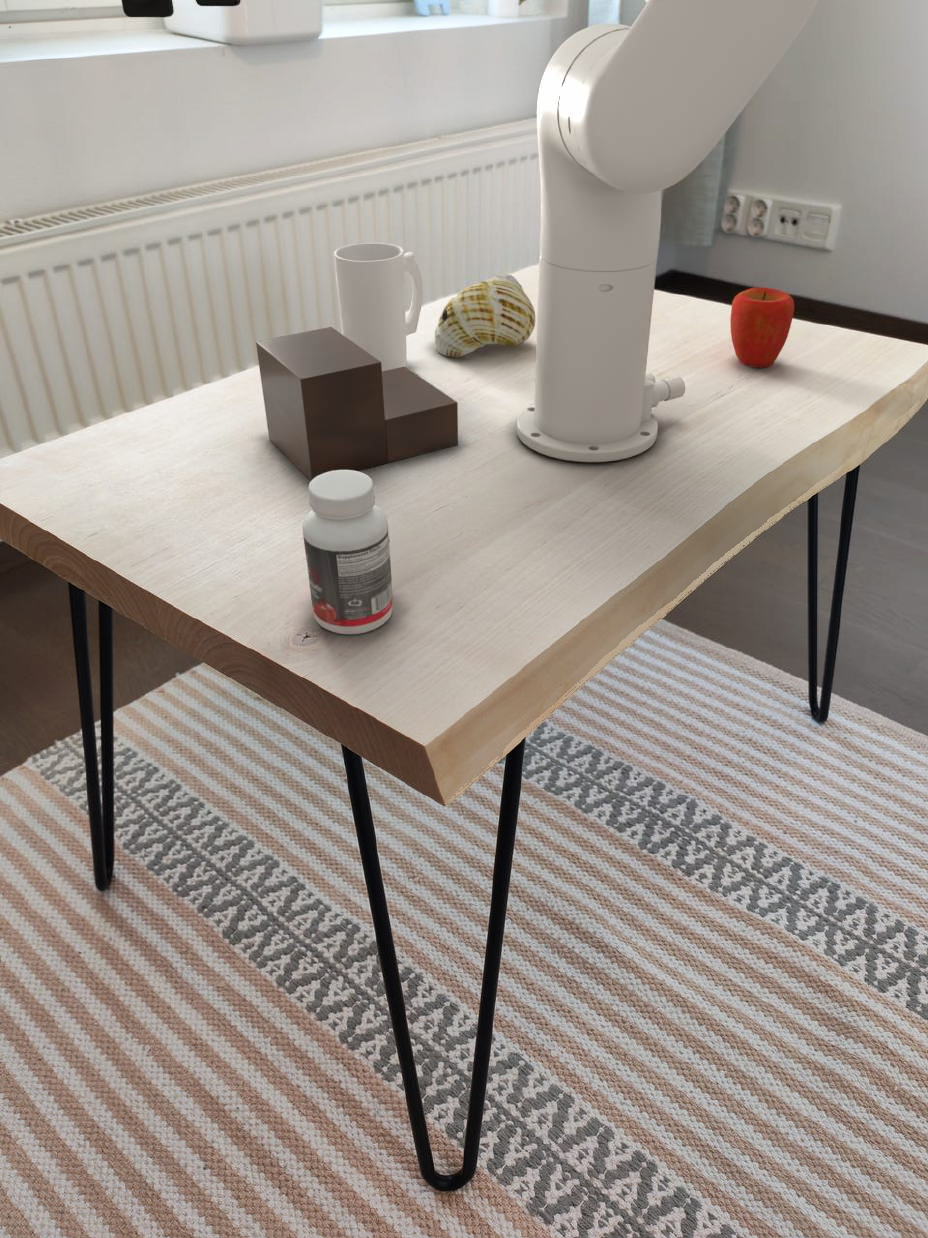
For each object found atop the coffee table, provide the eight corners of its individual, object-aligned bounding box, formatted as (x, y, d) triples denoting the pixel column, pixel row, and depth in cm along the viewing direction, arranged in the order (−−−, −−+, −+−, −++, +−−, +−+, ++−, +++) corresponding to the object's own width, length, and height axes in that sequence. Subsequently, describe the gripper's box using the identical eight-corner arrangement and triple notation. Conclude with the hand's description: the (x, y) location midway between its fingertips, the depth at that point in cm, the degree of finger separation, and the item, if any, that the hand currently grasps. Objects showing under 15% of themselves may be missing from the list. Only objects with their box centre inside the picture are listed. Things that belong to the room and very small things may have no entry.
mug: (372, 389, 97) (363, 265, 90) (330, 371, 101) (319, 251, 94) (445, 362, 103) (443, 244, 96) (403, 347, 107) (398, 232, 100)
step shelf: (406, 406, 94) (402, 312, 89) (458, 444, 87) (457, 345, 82) (269, 438, 88) (255, 341, 83) (312, 482, 81) (300, 379, 76)
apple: (716, 352, 104) (726, 281, 100) (773, 351, 105) (786, 280, 100) (732, 374, 99) (743, 300, 95) (792, 373, 99) (806, 299, 95)
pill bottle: (301, 604, 67) (284, 475, 61) (373, 583, 69) (363, 456, 63) (331, 646, 63) (316, 512, 57) (407, 622, 65) (399, 491, 59)
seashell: (416, 351, 104) (431, 253, 102) (456, 365, 112) (470, 275, 111) (502, 361, 100) (519, 259, 98) (537, 375, 108) (553, 281, 107)
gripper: (110, -391, 47) (175, 22, 57) (257, -322, 61) (289, 2, 71) (-24, -379, 49) (62, 21, 59) (149, -314, 63) (194, 1, 73)
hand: (186, 10), depth 65 cm, fingers open, 9 cm apart
